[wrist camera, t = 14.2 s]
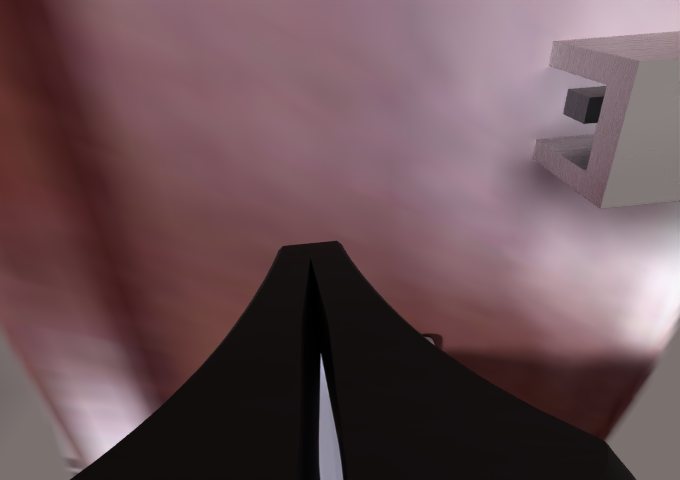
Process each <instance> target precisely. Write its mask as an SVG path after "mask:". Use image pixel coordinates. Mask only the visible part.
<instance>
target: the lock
mask: <svg viewBox="0 0 680 480" xmlns="http://www.w3.org/2000/svg"><path fill="white" fill-rule="evenodd" d="M549 66H551V67H554V68H557V69H560V70H563V71H566V72H569V73H572V74H575V75H578V76H581V77H584V78H588V79H591V80H594V81H597V82H600V83H603V84H606V85H607V87H606V91H605V95H604V99H603V103H602V107H601V112H600V116H599V120H598V124H597V128H596V133H595V134H591V135H580V136H569V137H558V138H547V139H536V144H535V150H534V156H533V160H534V161H536V162H537V163H539V164H540V165H541V166H543V167H544V168H545V169H547V170H548V171H549V172H551V173H552V174H554V175H555V176H556V177H558V178H559V179H560V180H562V181H563V182H565V183H566V184H567V185H569V186H570V187H571V188H573V189H574V190H575V191H577V192H578V193H580V194H581V195H582V196H584V197H585V198H586V199H588V200H589V201H590V202H592V203H593V204H595V205H596V206H597V207H599V208H600V209H603V208H613V207H622V206H632V205H642V204H652V203H662V202H672V201H680V31H676V32H663V33H651V34H638V35H626V36H613V37H600V38H588V39H575V40H563V41H553V44H552V50H551V56H550V62H549Z"/></svg>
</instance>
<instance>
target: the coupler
mask: <svg viewBox="0 0 680 480" xmlns="http://www.w3.org/2000/svg"><path fill="white" fill-rule="evenodd" d="M606 87H607V86H603V87H591V88H578V89H568V93H567V98H566V103H565V108H564V113H563V114H565V115H567V116H569V117H571V118H573V119H575V120H577V121H579V122H581V123H583V124H587V123H598V120H599V116H600V112H601V107H602V103H603V99H604V95H605V91H606Z"/></svg>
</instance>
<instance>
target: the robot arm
mask: <svg viewBox="0 0 680 480" xmlns="http://www.w3.org/2000/svg"><path fill="white" fill-rule="evenodd" d="M70 480H636V479H635V477H634V476H633V475H632V473H631V472H630V471H629V470H628V469H627V468H626V466H625V465H624V464H623V463H622V462H621V461H620V459H619V458H618V457H617V456H616V454H615V453H614V452H613V451H612V449H611V448H610V447H609V445H608V444H607V443H606V442H605V441H603V440H601V439H599V438H597V437H595V436H593V435H591V434H589V433H587V432H584V431H582V430H580V429H578V428H576V427H574V426H572V425H570V424H568V423H566V422H564V421H562V420H560V419H557V418H555V417H553V416H551V415H549V414H547V413H545V412H543V411H541V410H539V409H537V408H535V407H533V406H531V405H529V404H527V403H525V402H524V401H522V400H520V399H518V398H516V397H515V396H513V395H511V394H509V393H508V392H506V391H504V390H502V389H500V388H499V387H497V386H495V385H493V384H492V383H490V382H488V381H487V380H485V379H484V378H482V377H480V376H479V375H477V374H476V373H474V372H473V371H471V370H470V369H468V368H467V367H465V366H464V365H462V364H461V363H459V362H458V361H456V360H455V359H453V358H452V357H450V356H449V355H447V354H446V353H445V352H443V351H442V350H441V349H439V348H438V347H437V346H435V344H434V342H433V340H432V339H431V338H429V337H424V336H423V335H422V334H420V333H419V332H418V331H417V330H415V329H414V328H413V327H412V326H411V325H410V324H409V323H408V322H406V321H405V320H404V319H403V318H402V317H401V316H400V315H399V314H398V313H397V312H396V311H395V310H394V309H393V308H392V307H391V306H390V305H389V304H388V303H387V302H386V301H385V300H384V299H383V298H382V297H381V296H380V295H379V294H378V292H377V291H376V290H375V289H374V288H373V287H372V286H371V284H370V283H369V282H368V281H367V280H366V279H365V277H364V276H363V275H362V274H361V272H360V271H359V270H358V269H357V267H356V266H355V264H354V263H353V262H352V260H351V259H350V257H349V256H348V254H347V253H346V251H345V250H344V248H343V246H342V244H340V243H339V242H338V241H330V242H320V243H309V244H299V245H289V246H282V248H281V249H280V250H279V251H278V253H277V255H276V258H275V260H274V262H273V264H272V266H271V268H270V270H269V272H268V274H267V276H266V277H265V279H264V281H263V283H262V284H261V286H260V288H259V289H258V291H257V293H256V294H255V296H254V298H253V299H252V301H251V302H250V304H249V305H248V307H247V308H246V310H245V311H244V313H243V314H242V315H241V317H240V318H239V320H238V321H237V322H236V324H235V325H234V327H233V328H232V329H231V331H230V332H229V333H228V335H227V336H226V337H225V339H224V340H223V341H222V342H221V344H220V345H219V346H218V347H217V348H216V350H215V351H214V352H213V353H212V354H211V355H210V357H209V358H208V359H207V360H206V361H205V362H204V363H203V365H202V366H201V367H200V368H199V369H198V370H197V371H196V372H195V373H194V374H193V375H192V376H191V377H190V378H189V379H188V380H187V381H186V382H185V383H184V384H183V385H182V386H181V387H180V388H179V389H178V390H177V391H176V392H175V393H174V394H173V395H172V396H171V397H170V398H169V399H168V400H167V401H166V402H165V403H164V404H163V405H162V406H161V407H160V408H159V409H158V410H156V411H155V412H154V413H153V414H152V415H151V416H150V417H148V418H147V419H146V420H145V421H144V422H143V423H142V424H140V425H139V426H138V427H137V428H136V429H134V430H133V431H132V432H131V433H130V434H128V435H127V436H126V437H125V438H124V439H122V440H121V441H120V442H119V443H117V444H116V445H115V446H114V447H113V448H111V449H110V450H109V451H107V452H106V453H105V454H104V455H102V456H101V457H100V458H99V459H97V460H96V461H95V462H93V463H92V464H91V465H89V466H88V467H87V468H85V469H84V470H82V471H81V472H80V473H78V474H77V475H76V476H74V477H73V478H72V479H70Z"/></svg>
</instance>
